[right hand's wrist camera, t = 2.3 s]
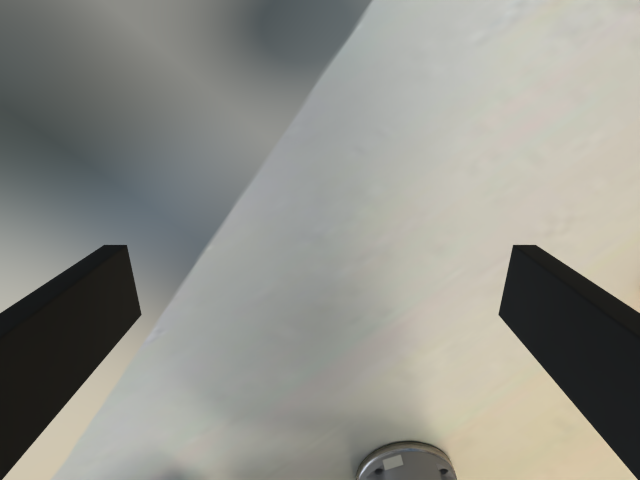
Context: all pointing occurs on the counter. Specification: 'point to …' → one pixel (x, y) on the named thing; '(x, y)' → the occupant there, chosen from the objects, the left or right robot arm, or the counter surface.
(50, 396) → the right robot arm
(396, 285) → the counter surface
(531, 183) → the counter surface
